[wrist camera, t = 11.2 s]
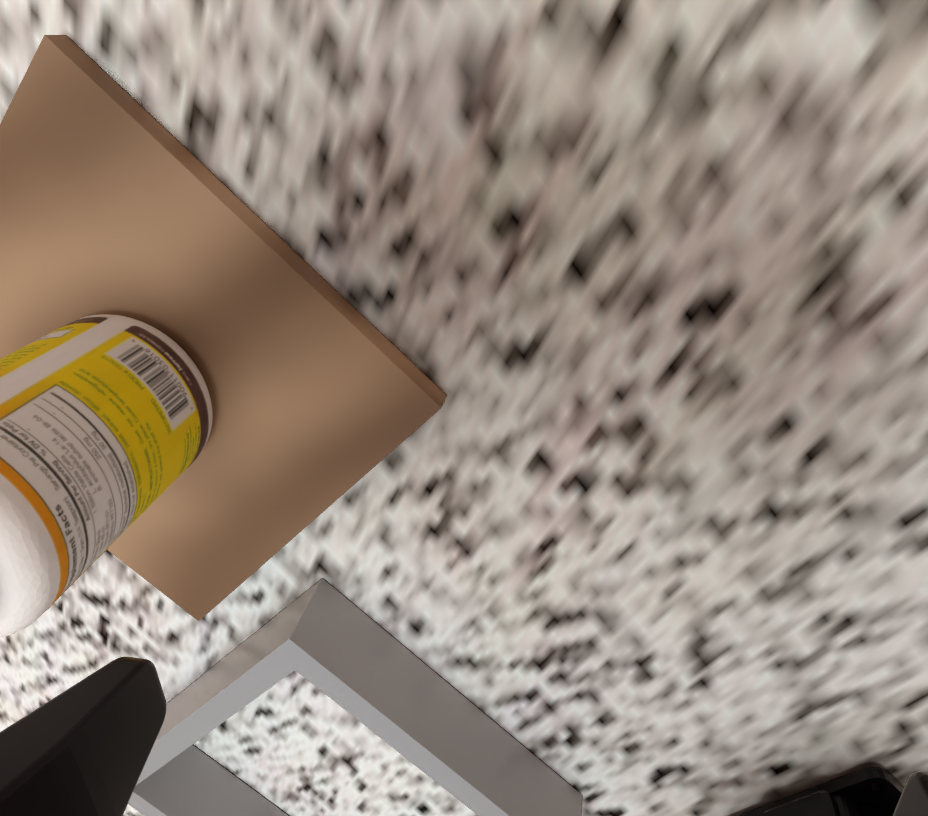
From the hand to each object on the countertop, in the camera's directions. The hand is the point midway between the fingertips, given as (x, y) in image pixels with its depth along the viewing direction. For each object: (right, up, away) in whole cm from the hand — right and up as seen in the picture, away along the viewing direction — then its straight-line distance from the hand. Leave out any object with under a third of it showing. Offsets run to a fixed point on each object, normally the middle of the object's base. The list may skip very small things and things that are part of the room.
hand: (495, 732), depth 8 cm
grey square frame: (-5, -11, +22) cm, 25 cm away
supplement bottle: (-11, +4, +14) cm, 18 cm away
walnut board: (-11, +5, +15) cm, 19 cm away
